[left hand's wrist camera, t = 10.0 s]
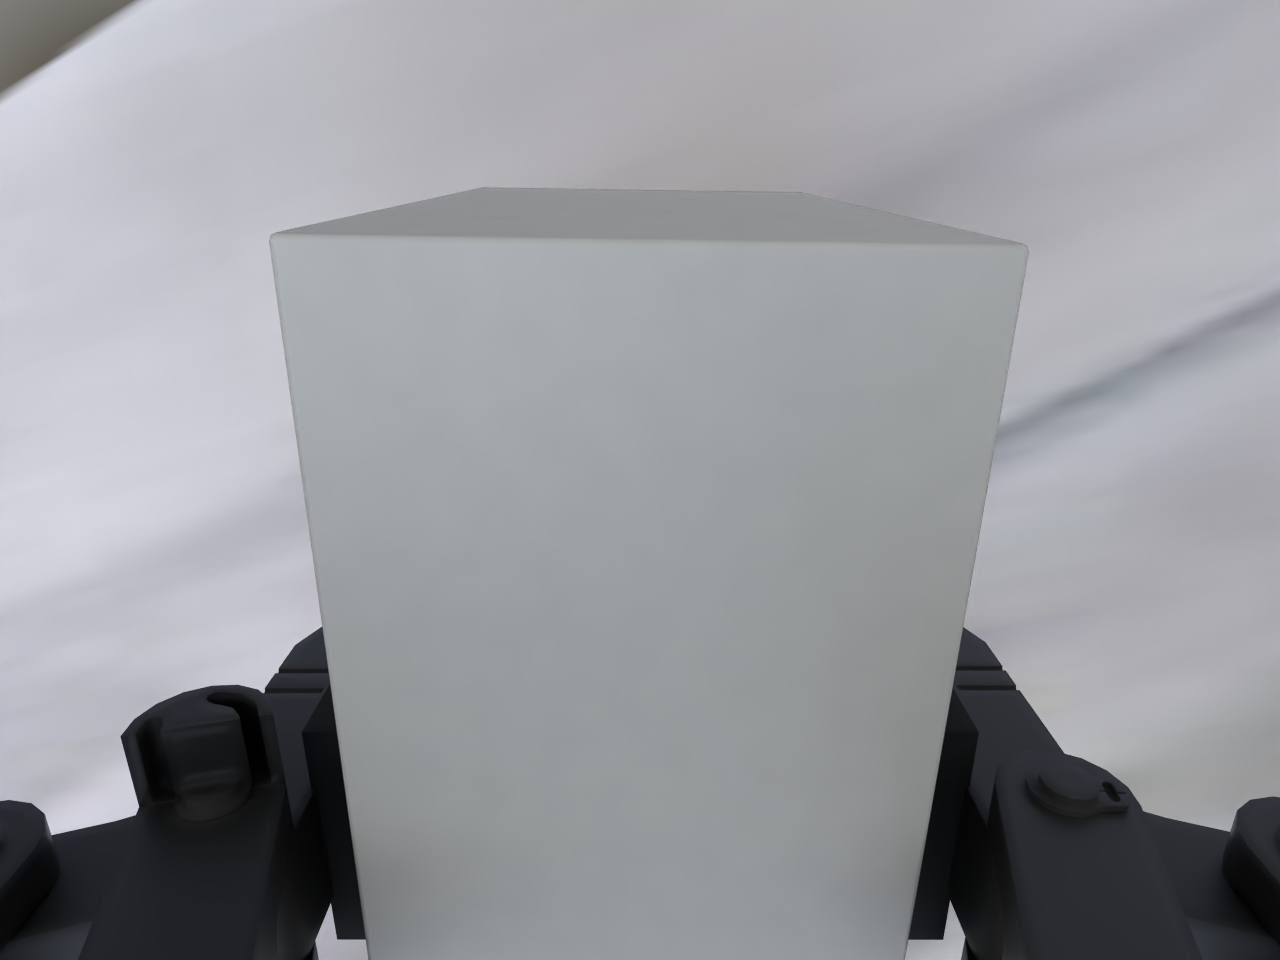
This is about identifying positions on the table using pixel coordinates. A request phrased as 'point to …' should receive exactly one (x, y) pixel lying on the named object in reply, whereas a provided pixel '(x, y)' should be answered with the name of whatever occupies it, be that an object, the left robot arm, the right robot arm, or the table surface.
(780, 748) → the beam
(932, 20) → the table surface
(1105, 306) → the table surface
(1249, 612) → the table surface
